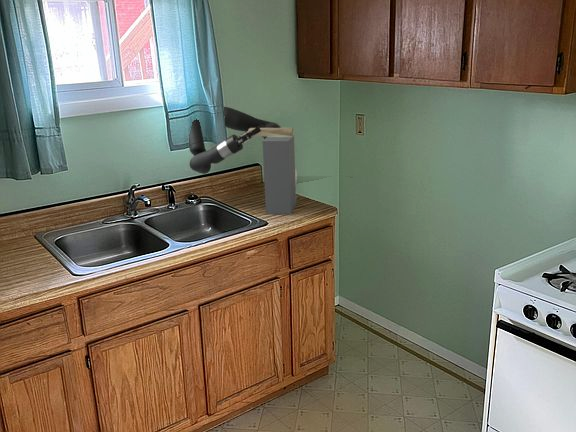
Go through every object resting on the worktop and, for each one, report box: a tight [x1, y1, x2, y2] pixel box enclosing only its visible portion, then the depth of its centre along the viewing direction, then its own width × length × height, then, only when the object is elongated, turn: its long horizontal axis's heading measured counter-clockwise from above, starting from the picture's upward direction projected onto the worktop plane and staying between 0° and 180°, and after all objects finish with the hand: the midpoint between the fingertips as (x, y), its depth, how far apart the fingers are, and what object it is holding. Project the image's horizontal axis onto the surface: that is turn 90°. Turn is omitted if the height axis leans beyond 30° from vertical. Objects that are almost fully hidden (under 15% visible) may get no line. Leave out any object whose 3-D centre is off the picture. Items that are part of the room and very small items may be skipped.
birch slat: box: [248, 127, 294, 137], centre depth 256 cm, size 4×19×3 cm, turn 80°
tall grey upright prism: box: [262, 133, 297, 215], centre depth 257 cm, size 14×11×32 cm
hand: (261, 127), depth 256 cm, fingers open, 5 cm apart
